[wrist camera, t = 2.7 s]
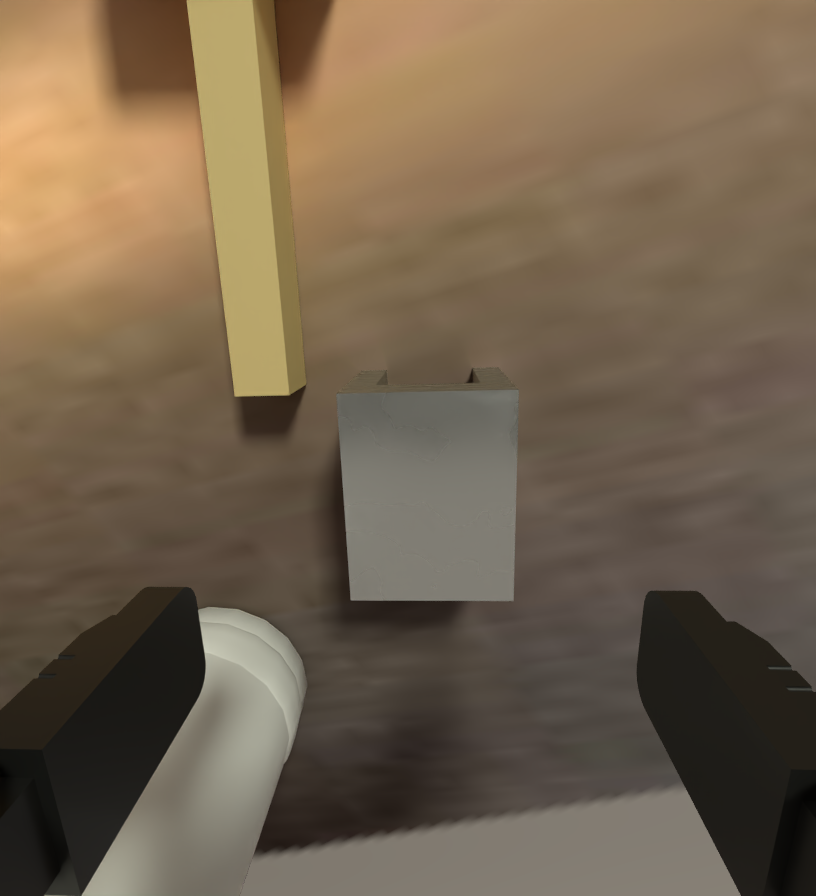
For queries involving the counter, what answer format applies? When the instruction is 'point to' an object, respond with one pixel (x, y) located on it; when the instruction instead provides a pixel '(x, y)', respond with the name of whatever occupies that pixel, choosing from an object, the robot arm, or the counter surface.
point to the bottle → (213, 769)
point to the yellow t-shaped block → (249, 191)
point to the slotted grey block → (429, 487)
